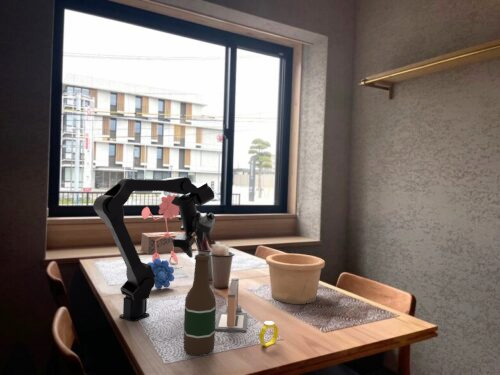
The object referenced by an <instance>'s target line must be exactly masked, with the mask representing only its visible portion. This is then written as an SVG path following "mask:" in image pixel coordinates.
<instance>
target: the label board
mask: <svg viewBox="0 0 500 375" xmlns="http://www.w3.org/2000/svg"><path fill="white" fill-rule="evenodd" d="M225 308H226V309H225V310H226V311H219V312H218V315H217V318H216V320H215V332H233V333H234V332H236V333H238V332H240V333H246V332H247V323H248V322H247V321H248V312H242V309H243V308H242V306H241V305H239V304H238V307H237V310H236V316H235V322H234V326H227V306H226V307H225Z"/></svg>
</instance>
